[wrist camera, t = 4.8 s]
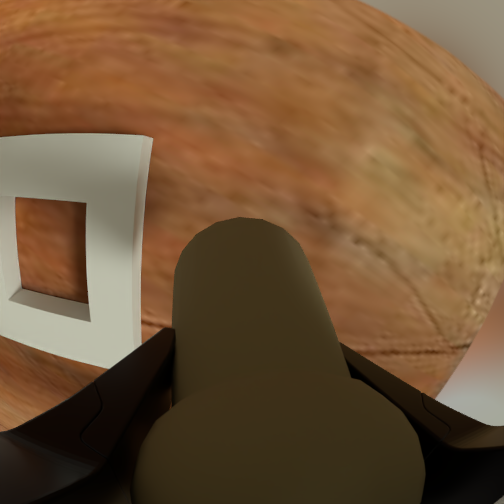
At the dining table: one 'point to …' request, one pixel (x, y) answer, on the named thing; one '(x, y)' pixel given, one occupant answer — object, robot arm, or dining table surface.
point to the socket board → (97, 241)
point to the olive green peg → (267, 389)
